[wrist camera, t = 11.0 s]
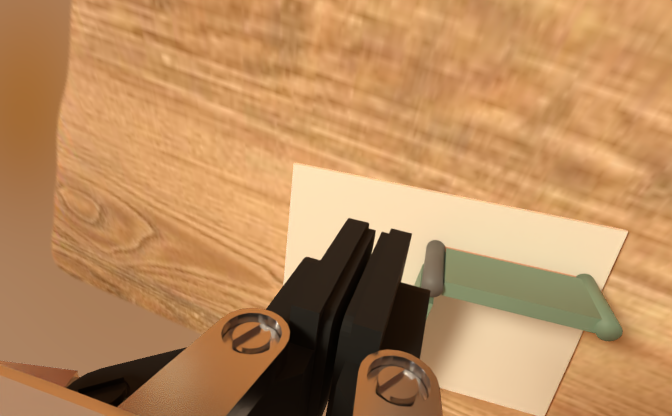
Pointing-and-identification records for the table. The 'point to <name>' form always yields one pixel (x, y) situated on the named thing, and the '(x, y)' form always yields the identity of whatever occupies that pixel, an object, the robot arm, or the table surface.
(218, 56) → the table surface
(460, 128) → the table surface
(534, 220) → the card
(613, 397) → the table surface
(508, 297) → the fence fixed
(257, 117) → the table surface
